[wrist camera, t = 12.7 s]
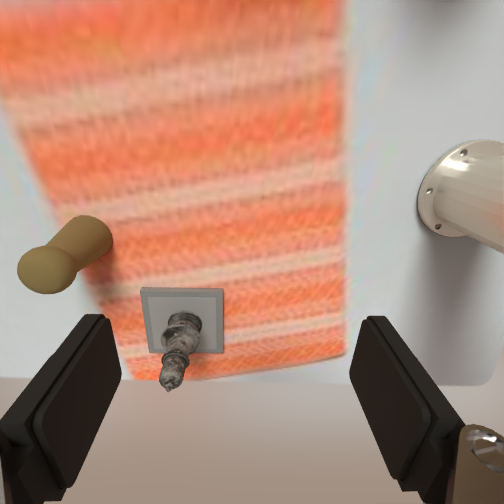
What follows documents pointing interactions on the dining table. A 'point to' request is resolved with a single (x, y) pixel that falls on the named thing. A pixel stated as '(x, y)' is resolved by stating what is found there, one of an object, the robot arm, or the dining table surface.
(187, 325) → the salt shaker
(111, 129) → the dining table surface
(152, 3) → the dining table surface
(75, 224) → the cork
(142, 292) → the coaster
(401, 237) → the dining table surface
